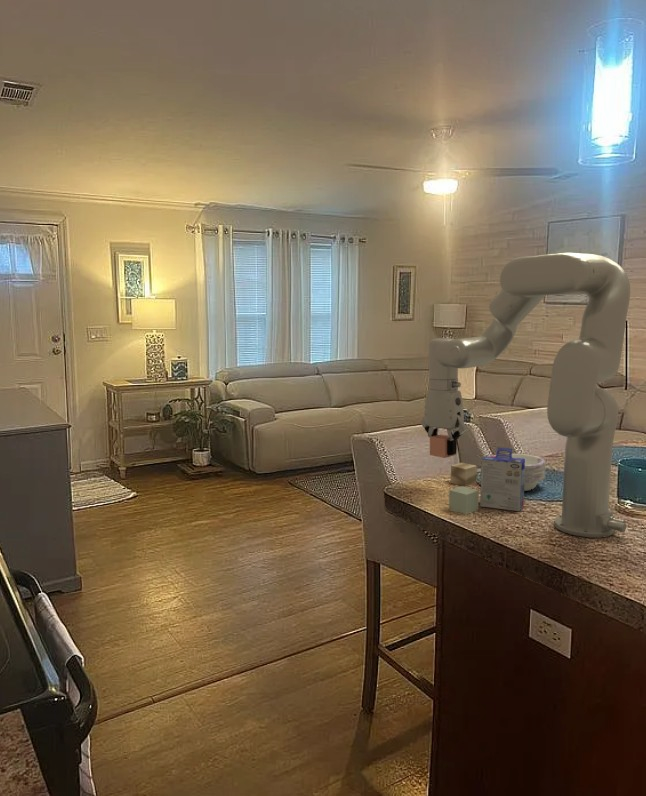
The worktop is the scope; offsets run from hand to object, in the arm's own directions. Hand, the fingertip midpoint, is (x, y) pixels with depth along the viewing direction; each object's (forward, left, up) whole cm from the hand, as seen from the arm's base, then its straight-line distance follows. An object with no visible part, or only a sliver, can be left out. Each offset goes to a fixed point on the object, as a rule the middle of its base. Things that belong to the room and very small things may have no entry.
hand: (443, 452), depth 169 cm
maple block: (0, -10, -11) cm, 15 cm away
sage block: (-14, +9, -11) cm, 19 cm away
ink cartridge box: (-19, 0, -11) cm, 21 cm away
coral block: (0, 0, -1) cm, 1 cm away
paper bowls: (-12, -17, -11) cm, 23 cm away
